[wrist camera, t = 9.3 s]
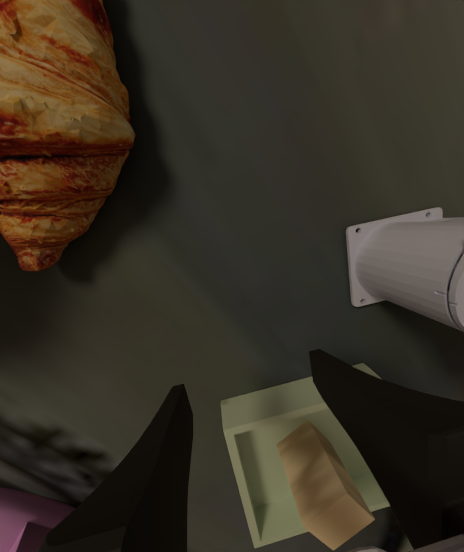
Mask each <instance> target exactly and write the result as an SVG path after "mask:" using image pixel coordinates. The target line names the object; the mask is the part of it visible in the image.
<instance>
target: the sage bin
mask: <svg viewBox="0 0 464 552" xmlns="http://www.w3.org/2000/svg"><path fill="white" fill-rule="evenodd" d="M353 367H355V368H357V369H359V370H361V371H363V372H366V373H368V374H370V375H372V376H375V377H377V378H380V377H379V376H378V375H377V374H376V373H374V372H373V371H372V370H371V369H370V368H369V367H368V366H366V365H365V364H364V363H361V364H357V365H353ZM380 379H381V378H380ZM382 380H383V379H382ZM221 411H222V422H223V431H224V435H225V439H226V443H227V446H228V450H229V454H230V458H231V462H232V465H233V469H234V473H235V477H236V480H237V484H238V488H239V492H240V495H241V499H242V503H243V507H244V511H245V514H246V518H247V522H248V526H249V529H250V533H251V537H252V541H253V544H254V548H257V547H261V546H264V545H267V544H270V543H273V542H276V541H280V540H283V539H286V538H289V537H292V536H295V535H299V534H302V533H305V532H308V530H307V529H306V528H304V527H303V524H302V521H301V518H300V515H299V512H298V509H297V506H296V503H295V500H294V496H293V493H292V490H291V487H290V484H289V481H288V478H287V475H286V472H285V469H284V466H283V463H282V460H281V457H280V454H279V451H278V448H277V445H276V444H278V443H279V442H280V441H281V440H283V439H284V438H285V437H286V436H288V435H289V434H290V433H291V432H293V431H294V430H295V429H297V428H298V427H299V426H300V425H302V424H303V423H304V422H305V421H307V420H309V421H310V422H311V423H312V424H313V425H314V426H315V427H316V428H317V429H318V430H319V431H320V432H321V433H322V434H323V435H324V436H325V437H326V438H327V439H328V440H329V441H330V443H331V444H332V446H333V448H334V450H335V451H336V453H337V455H338V456H339V458H340V460H341V462H342V463H343V465H344V467H345V469H346V470H347V472H348V474H349V475H350V477H351V479H352V481H353V482H354V484H355V486H356V488H357V489H358V491H359V493H360V494H361V496H362V498H363V500H364V501H365V503H366V505H367V507H368V508H369V510H370V512H372V511H375V510H378V509H381V508H384V507H388V506H390V504H389V503H388V501H387V499H386V497H385V495H384V493H383V492H382V490H381V488H380V486H379V485H378V483H377V481H376V480H375V478H374V476H373V474H372V473H371V471H370V469H369V467H368V466H367V464H366V462H365V461H364V459H363V457H362V456H361V454H360V452H359V451H358V449H357V447H356V446H355V444H354V443H353V441H352V440H351V438H350V437H349V435H348V434H347V433H346V431H345V430H344V428H343V427H342V426H341V424H340V423H339V421H338V420H337V419H336V417H335V416H334V415H333V413H332V412H331V410H330V409H329V408H328V406H327V405H326V403H325V402H324V400H323V399H322V397H321V395H320V394H319V392H318V390H317V388H316V386H315V385H314V383H313V378H312V377H308V378H304V379H301V380H297V381H293V382H289V383H285V384H282V385H278V386H274V387H270V388H267V389H263V390H259V391H255V392H252V393H248V394H244V395H240V396H236V397H233V398H229V399H225V400H221Z"/></svg>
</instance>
